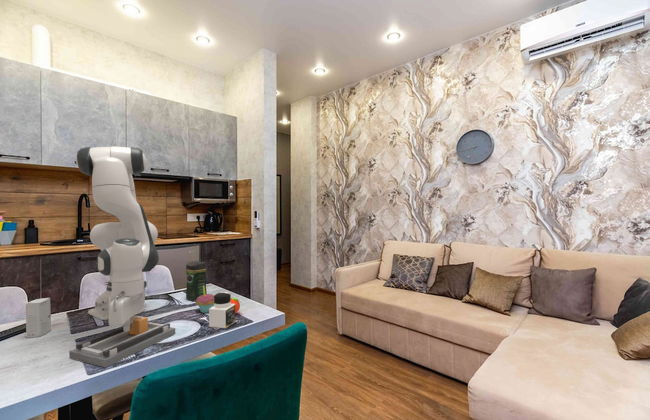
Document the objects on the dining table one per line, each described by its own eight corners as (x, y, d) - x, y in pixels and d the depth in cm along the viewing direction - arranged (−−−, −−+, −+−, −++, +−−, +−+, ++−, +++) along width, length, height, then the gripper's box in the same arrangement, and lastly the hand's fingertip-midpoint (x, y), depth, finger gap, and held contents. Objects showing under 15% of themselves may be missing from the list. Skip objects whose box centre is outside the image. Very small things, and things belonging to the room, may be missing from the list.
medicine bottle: (226, 328, 111) (225, 296, 111) (208, 327, 112) (208, 295, 112) (235, 321, 118) (235, 291, 118) (219, 320, 119) (219, 290, 119)
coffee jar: (209, 298, 148) (209, 261, 148) (195, 302, 142) (195, 263, 142) (197, 295, 154) (197, 259, 153) (183, 299, 147) (183, 261, 147)
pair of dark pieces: (76, 348, 90) (76, 344, 90) (143, 322, 111) (143, 319, 111) (105, 356, 85) (105, 352, 85) (169, 327, 106) (169, 324, 106)
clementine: (245, 312, 129) (244, 295, 129) (238, 317, 122) (238, 300, 122) (227, 311, 129) (226, 295, 129) (220, 317, 122) (219, 300, 122)
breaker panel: (69, 357, 90) (69, 345, 90) (143, 327, 112) (142, 318, 112) (105, 367, 84) (105, 354, 84) (175, 333, 106) (175, 323, 106)
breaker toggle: (129, 333, 101) (129, 317, 101) (137, 330, 104) (137, 314, 104) (139, 335, 100) (139, 319, 100) (147, 332, 102) (147, 316, 102)
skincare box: (40, 336, 104) (40, 302, 104) (25, 338, 103) (24, 303, 103) (51, 329, 110) (51, 297, 110) (37, 331, 109) (36, 298, 109)
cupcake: (210, 314, 126) (209, 286, 125) (191, 313, 127) (191, 285, 127) (220, 307, 134) (220, 281, 134) (202, 307, 135) (202, 280, 135)
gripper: (126, 296, 89) (126, 342, 89) (148, 280, 109) (148, 318, 109) (101, 298, 88) (102, 344, 88) (129, 281, 107) (129, 319, 107)
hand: (128, 329), depth 98 cm, fingers closed
